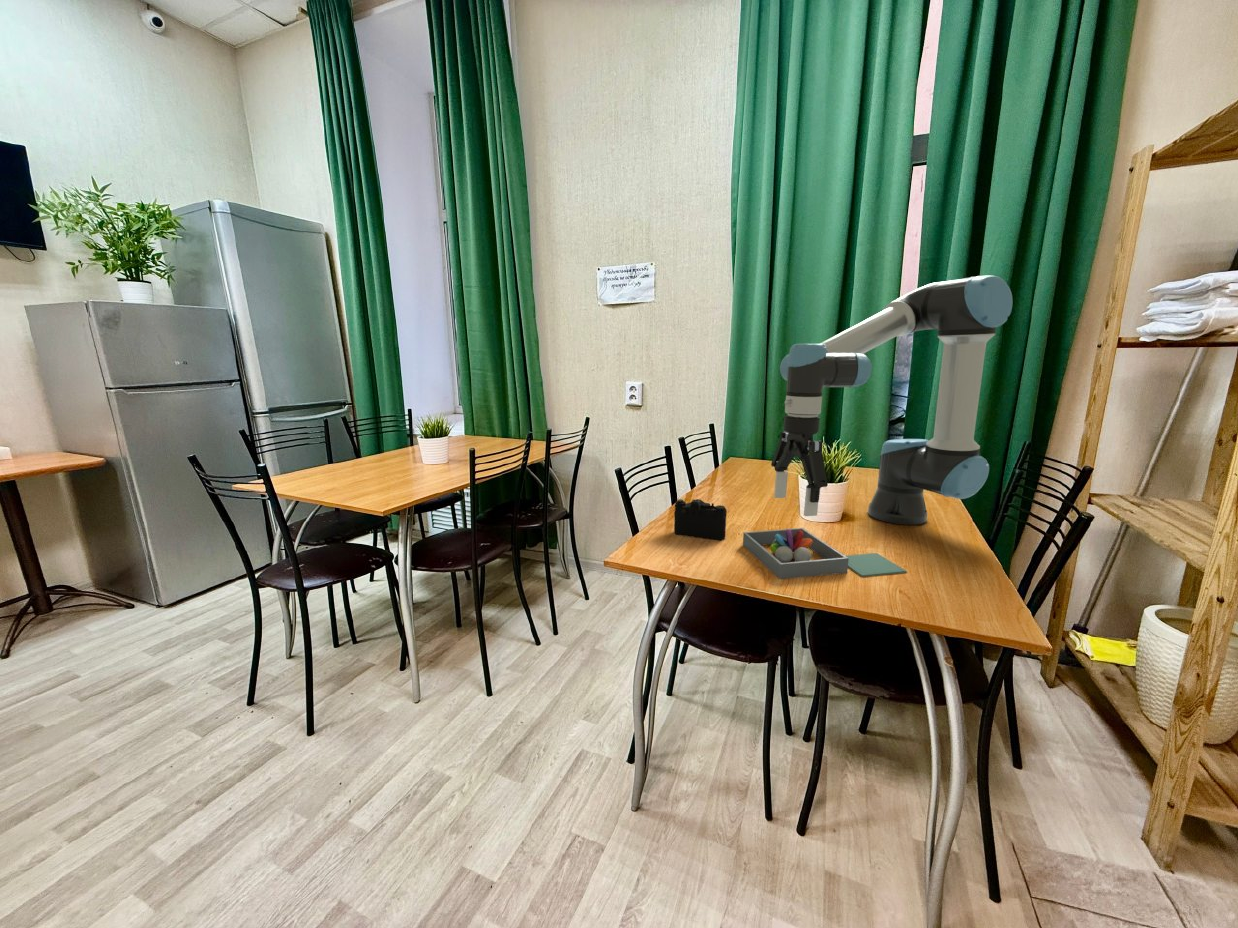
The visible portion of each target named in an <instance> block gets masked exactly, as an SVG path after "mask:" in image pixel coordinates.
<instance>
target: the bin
mask: <svg viewBox="0 0 1238 928" xmlns="http://www.w3.org/2000/svg"><path fill="white" fill-rule="evenodd" d="M787 529H788V528H783V529H782V528H781V529H772V530H771V529H770V530H758V531H757V530H756V531H747V532H746V531H745V532H743V533H742V534H743V535H742V536H743V538H742V547H744V548H745V549H746V550H747V551H748V552H750V554H751V555H753V556H754V557H755V558H756V559H757V560H758V561H759V562H760V563H761V564H762V565H763V566H765V567H766V568H767V570H769V571H770V572H771V573H772V574H773V575H774V576H775V577H777V579H778V580H786V579H797V578H807V577H819V576H827V575H829V576H830V575H838V574H839V575H840V574H847V573H848V570H849V568H848V561H849V558H848V557H846V556H847V555H844V554H843V553H841V552H840V551H838V550H837V549H835V548H834V547H832V546H831V545H829V544H828V543H826V542H825V541H823V540H822V539H820V538H819V537H817V536H816V535H814V534H813V533H811V532H809V530H806V529H805V528H803V527H797V528H796V527H795V528H789V529H790V530H791V533H792V538H793V537H794V535H795V534H796V533H797V532H798V531H799V530H801V531H803V533H804V534H803V538H802V539H804V538H810V539H812V541H813V543H812V545H811V546H810V547H808V548H809V549H811V550H812V551H813V552H815V553H816V554H818V555H819V556H820V557H822V558H823V559H810V561H799V562H796V561H789V562H787V563H782V562H780V561H779V560H778V559H776V557H775V555H773V554H772V552H771V553H770V552H769V551H768V550H767V549H766V548H765V547H764V545H765V546H766V545H772V544H773V541H774V540H775V539H776V538H775V535H776V534H779V535H781V536H782V537H783V538H784V539H786V540H787V537H786V530H787Z"/></svg>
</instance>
